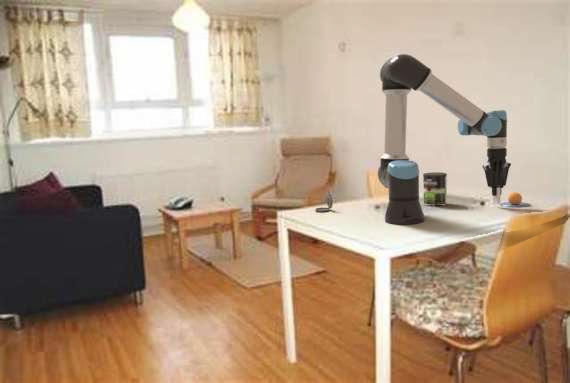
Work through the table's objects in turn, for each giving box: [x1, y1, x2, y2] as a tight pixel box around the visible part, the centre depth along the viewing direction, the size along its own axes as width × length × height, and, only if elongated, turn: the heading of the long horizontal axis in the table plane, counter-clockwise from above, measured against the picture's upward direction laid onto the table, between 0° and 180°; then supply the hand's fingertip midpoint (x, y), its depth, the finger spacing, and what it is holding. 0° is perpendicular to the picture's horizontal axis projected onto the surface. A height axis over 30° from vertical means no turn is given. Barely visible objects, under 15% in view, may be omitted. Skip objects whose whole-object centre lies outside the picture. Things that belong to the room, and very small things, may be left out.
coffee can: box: [422, 171, 448, 206], centre depth 223 cm, size 10×10×14 cm
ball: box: [507, 191, 523, 205], centre depth 211 cm, size 6×6×6 cm
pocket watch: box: [314, 188, 334, 213], centre depth 224 cm, size 8×8×10 cm
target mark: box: [499, 201, 532, 208], centre depth 211 cm, size 12×12×1 cm
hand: (496, 203), depth 208 cm, fingers closed
